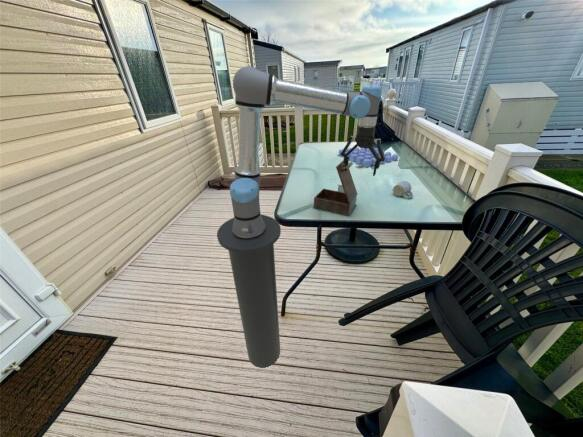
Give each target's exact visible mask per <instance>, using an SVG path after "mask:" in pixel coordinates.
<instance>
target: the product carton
mask: <svg viewBox="0 0 583 437" xmlns="http://www.w3.org/2000/svg"><path fill="white" fill-rule="evenodd" d="M337 185H338V186H337V191H338V192H343V193H345V192H344V189H343V186H342V183H341V182H339V183H338V184H337Z"/></svg>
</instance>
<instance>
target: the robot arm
mask: <svg viewBox="0 0 583 437" xmlns="http://www.w3.org/2000/svg"><path fill="white" fill-rule="evenodd" d="M232 89H233V91H234V94H235V95H234V96H235V97H234V98H235V99H234V100H235V103H234V104H235V106H236V107H237V109H238V112H239V113H238V161H237V162H238V164H237V166H236V167H235V169H234V181H232V182H231V184H230V185H229V196H230V199H231V200H230V201H231V206H232V212H233V218H234V221H233V226H232V233H233V235H234V236H235V237H237V238H239V239H244V240H249V239H254V238H257V237H260V236H261V235H263V234H264V232H265V230H266V225H265V223H264V221H263V219H262V216H261V215H262V214H261V205H260V186H261V169H260V168H259V167H258V164H259V147H260V131H261V130H260V129H261V128H260V127H261V112H262V111H263V110H264V109H265V106H272V105H273V104H277V105H278V104H279V105H284V106H290V107H295V108H301V109H307V110H312V111H319V112H325V113H330V114H335V115H342V116H346V117H352V119H357V128H356V130H357V131H356V135H355V136H353V135H350V136H349V137H348V141H347V143H346V144H345V146H344V147H343V148H342V149H343V151H342V152H341V154H340V155H341V156H343V157H342V158H343V160H344V162H343V163H344V164H345V167H346V166H347V165H348V164H349V163H350V162H349V161H350V159H349V157H347V156H348V155H349V154H350V153H351V152H352V151H353V150H354V149H355V148H356V147H357V148H359V149H361V148H365V149H367V148H369V150H370V151H371V153H372V154H373V156H374V157H375V159H376V162H375V166H373V172H372V176H373V177H375V176H376V174H377V170H379V168H380V167H381V166H380V165H381V164H380V162H382V161H384V160H385V156H384V154H385V153H383V150H384V149H383V147H382V139H381V138H375V133H376V126H377V121H378V113H379V107H380V103H381V100H382V99H381V98H382V97H381V96H382V87H381V86H379V85H363V87H362V90H361V91H344V90H343V91H342V90H338V89H332V88H326V87H321V86H316V85H312V84H306V83H302V82H296V81H291V80H285V79H280V78H277V77H276V76H275V74H273V73H268V72H264V71H262V70H260V69H259V68H258V67H256V66H251V65H250V66H248V65H247V66H242V67H241V68H239V69H238V70H236V72H235V74H234V75H233V79H232ZM354 141H355V142H356V144H354V146H353V147H351V149H350V150H349V151H348V152H347V153H345V152H346V150H347V149H348V148H350V145H351V144H352V143H353V142H354ZM373 143H375V145H376V148H378V154H377V152H376V150H375V149H374V148H375V147H374V145H373ZM379 154H380V157H381V158H380V157H379ZM341 156H340V157H341ZM347 170H348V169H345V171H347Z"/></svg>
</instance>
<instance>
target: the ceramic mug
mask: <svg viewBox="0 0 583 437" xmlns="http://www.w3.org/2000/svg"><path fill="white" fill-rule="evenodd" d="M392 192H393V195H395V196H396V197H404V198H406V199H407V200H409V199H412V198H413V197H414V194H413V192H412V185H411V183H410V182H409V181H408V180H402V181H399V183H397V184H395V185H394V186H393V188H392ZM407 194H409V195H410V196H408V195H407Z"/></svg>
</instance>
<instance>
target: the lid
mask: <svg viewBox="0 0 583 437" xmlns="http://www.w3.org/2000/svg"><path fill="white" fill-rule="evenodd" d="M343 162H344V159H343V160H342V161H341V162H340V163H338V164H337V165H336V166H335V169H336V172H337V174H338V178H339V180H340V183H342V186H343V189H344V192H345V195H346V198H347V200H348V203H349V205H351V203H352V202H353V200H354V199H355V197H356V196H358V191H357V188H356V185H355V182H354V180H353V175H352V173H351V170H350V168H351V167H353V164H354V162H352V161H350V162H348V165H347V166H346V167H345V164H344V163H343ZM345 169H348V170H347V171H345ZM356 198H357V197H356Z"/></svg>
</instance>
